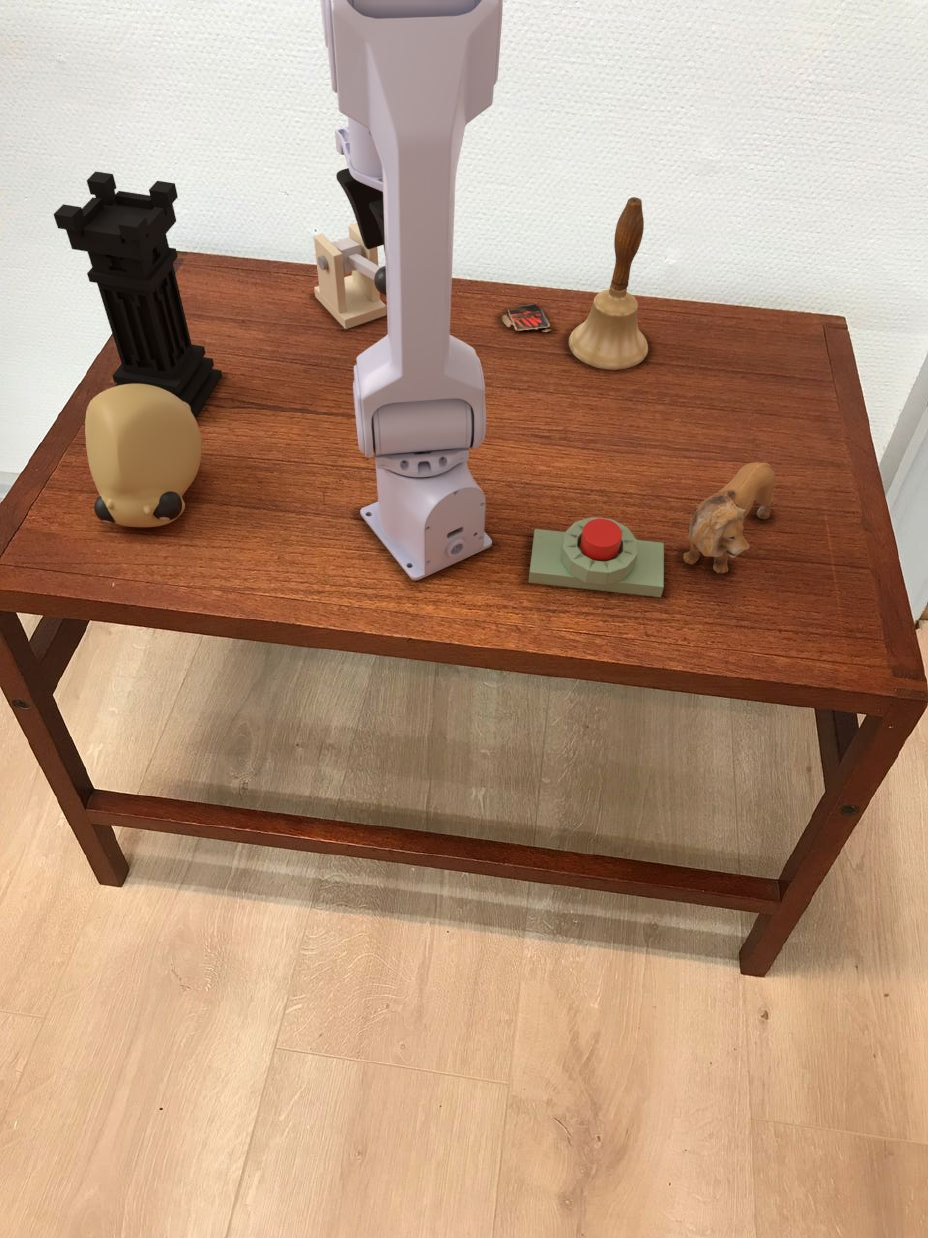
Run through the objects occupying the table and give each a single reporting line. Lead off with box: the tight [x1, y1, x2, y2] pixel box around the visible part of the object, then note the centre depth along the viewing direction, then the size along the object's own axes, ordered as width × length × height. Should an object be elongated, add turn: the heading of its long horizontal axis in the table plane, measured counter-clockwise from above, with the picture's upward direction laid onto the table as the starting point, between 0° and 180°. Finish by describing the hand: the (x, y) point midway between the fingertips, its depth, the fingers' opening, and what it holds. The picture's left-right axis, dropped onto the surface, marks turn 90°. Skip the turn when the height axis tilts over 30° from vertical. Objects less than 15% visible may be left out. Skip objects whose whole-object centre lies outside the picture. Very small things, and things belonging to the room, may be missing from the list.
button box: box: [527, 516, 665, 598], centre depth 81 cm, size 11×6×3 cm, turn 83°
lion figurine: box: [682, 461, 776, 574], centre depth 81 cm, size 15×5×9 cm, turn 151°
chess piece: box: [52, 170, 223, 420], centre depth 88 cm, size 8×8×20 cm
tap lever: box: [331, 237, 387, 297], centre depth 98 cm, size 12×3×3 cm, turn 33°
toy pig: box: [84, 384, 203, 528], centre depth 83 cm, size 10×12×11 cm
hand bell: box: [568, 196, 649, 371], centre depth 96 cm, size 8×8×16 cm
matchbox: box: [500, 303, 553, 333], centre depth 104 cm, size 5×5×1 cm
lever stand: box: [313, 222, 387, 330], centre depth 102 cm, size 7×6×8 cm
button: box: [580, 518, 622, 561], centre depth 80 cm, size 3×3×2 cm
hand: (387, 256), depth 93 cm, fingers open, 4 cm apart
